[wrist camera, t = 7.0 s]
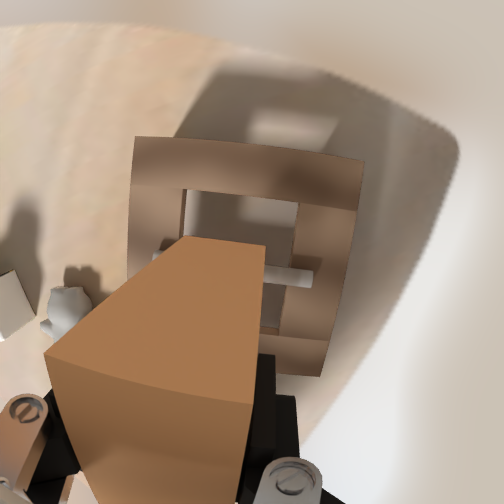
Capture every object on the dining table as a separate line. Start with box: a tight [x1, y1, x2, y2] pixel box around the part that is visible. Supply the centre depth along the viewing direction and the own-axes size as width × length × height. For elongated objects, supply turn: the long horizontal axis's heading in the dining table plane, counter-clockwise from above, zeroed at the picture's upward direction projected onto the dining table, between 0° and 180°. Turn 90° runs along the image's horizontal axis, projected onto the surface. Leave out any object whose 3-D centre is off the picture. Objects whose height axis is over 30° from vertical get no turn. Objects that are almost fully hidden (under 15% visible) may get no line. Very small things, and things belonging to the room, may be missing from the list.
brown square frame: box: [127, 136, 364, 377], centre depth 26 cm, size 17×16×9 cm
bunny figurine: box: [40, 286, 92, 343], centre depth 32 cm, size 10×5×15 cm
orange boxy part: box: [44, 236, 266, 504], centre depth 11 cm, size 6×4×11 cm, turn 173°
